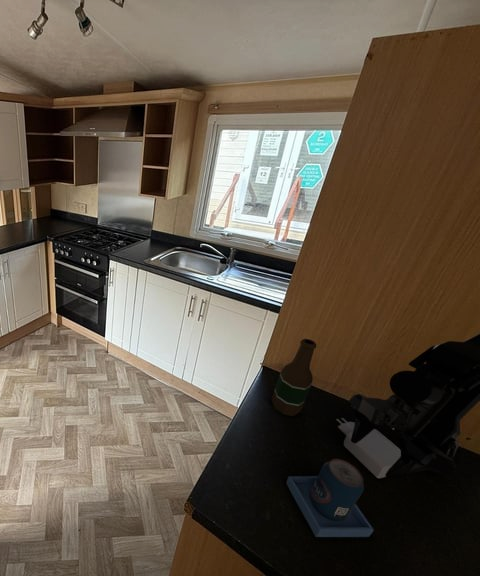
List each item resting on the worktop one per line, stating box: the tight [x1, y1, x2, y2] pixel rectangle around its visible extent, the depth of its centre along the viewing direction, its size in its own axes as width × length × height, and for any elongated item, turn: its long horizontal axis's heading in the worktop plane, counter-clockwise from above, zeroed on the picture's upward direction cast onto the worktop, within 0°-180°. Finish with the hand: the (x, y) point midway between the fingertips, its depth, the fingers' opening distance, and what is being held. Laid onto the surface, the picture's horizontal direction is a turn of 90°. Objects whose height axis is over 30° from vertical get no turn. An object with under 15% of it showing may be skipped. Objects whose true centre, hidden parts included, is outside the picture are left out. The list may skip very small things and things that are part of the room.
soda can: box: [310, 458, 365, 521], centre depth 66 cm, size 7×7×12 cm
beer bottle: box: [271, 338, 317, 417], centre depth 89 cm, size 8×8×24 cm
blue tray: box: [285, 475, 375, 538], centre depth 68 cm, size 11×11×3 cm
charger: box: [336, 417, 401, 479], centre depth 81 cm, size 5×9×15 cm
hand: (369, 458), depth 67 cm, fingers open, 9 cm apart
